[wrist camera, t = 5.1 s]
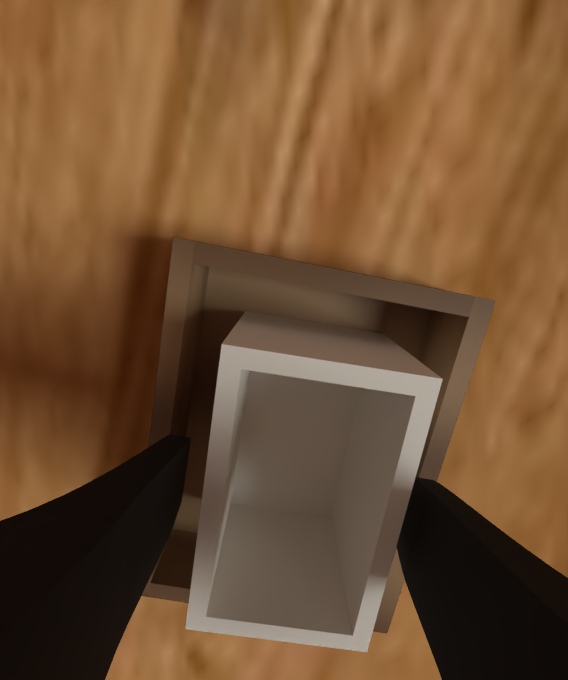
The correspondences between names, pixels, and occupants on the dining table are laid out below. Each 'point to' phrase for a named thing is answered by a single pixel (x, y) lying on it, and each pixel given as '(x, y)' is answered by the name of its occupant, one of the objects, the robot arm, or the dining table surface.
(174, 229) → the dining table surface
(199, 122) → the dining table surface
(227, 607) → the small crate
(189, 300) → the brown wooden tray
